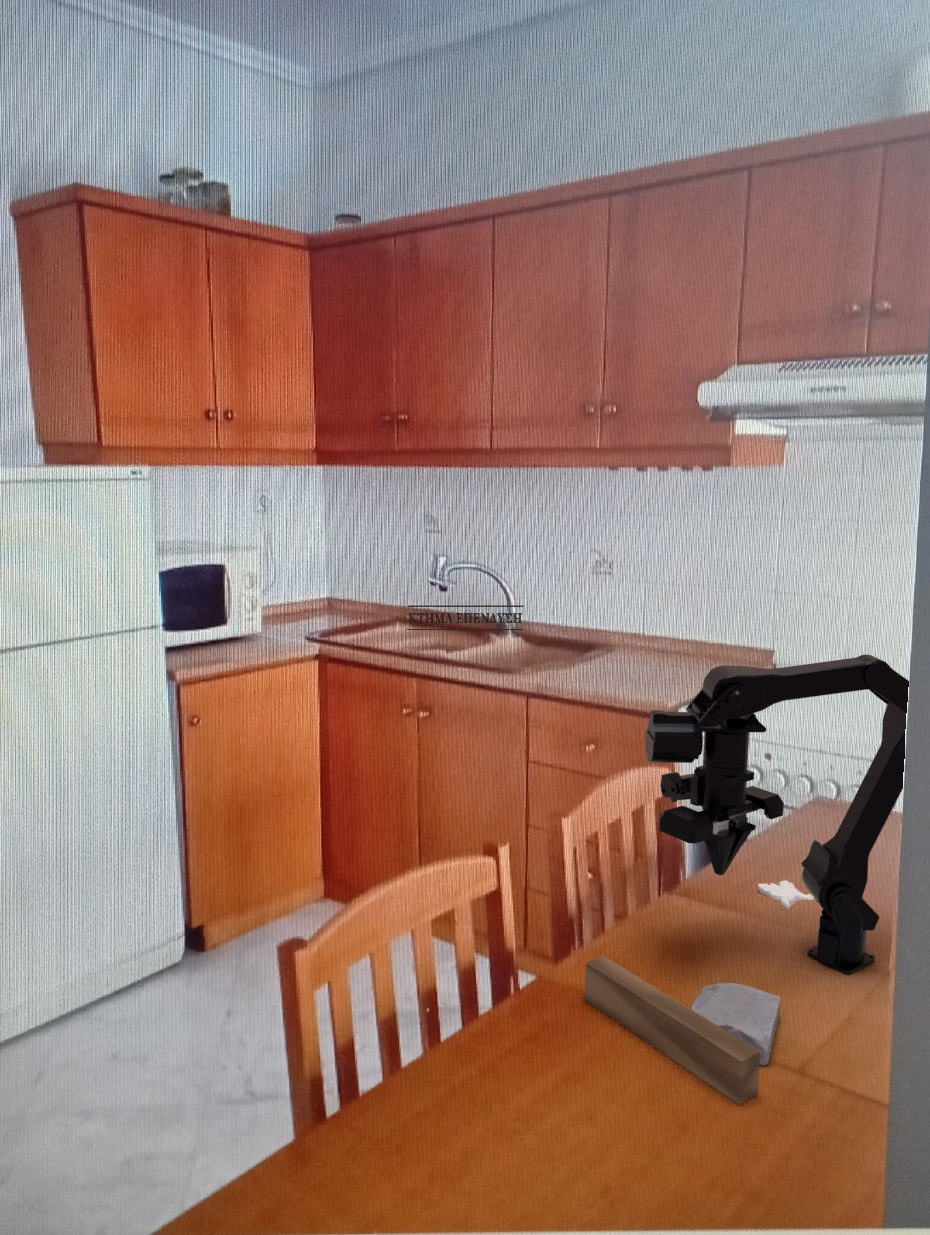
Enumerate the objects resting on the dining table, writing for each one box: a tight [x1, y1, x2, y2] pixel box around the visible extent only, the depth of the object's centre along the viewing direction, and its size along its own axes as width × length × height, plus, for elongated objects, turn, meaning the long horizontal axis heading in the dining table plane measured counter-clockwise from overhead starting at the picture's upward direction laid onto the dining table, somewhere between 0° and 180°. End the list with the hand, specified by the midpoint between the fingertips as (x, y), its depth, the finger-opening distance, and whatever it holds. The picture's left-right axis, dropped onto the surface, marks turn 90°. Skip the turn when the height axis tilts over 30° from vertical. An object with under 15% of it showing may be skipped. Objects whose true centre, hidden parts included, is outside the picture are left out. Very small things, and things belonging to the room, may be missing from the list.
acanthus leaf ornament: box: [757, 880, 815, 910], centre depth 148 cm, size 8×7×2 cm
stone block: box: [690, 982, 781, 1067], centre depth 112 cm, size 12×5×10 cm
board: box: [584, 955, 760, 1106], centre depth 109 cm, size 3×24×5 cm, turn 35°
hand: (719, 873), depth 127 cm, fingers closed
